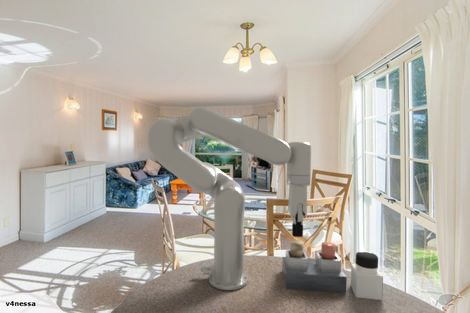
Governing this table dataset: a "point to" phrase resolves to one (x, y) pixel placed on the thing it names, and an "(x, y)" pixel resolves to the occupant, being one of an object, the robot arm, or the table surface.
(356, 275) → the medicine bottle
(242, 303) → the table surface
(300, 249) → the beige ball
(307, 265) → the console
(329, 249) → the red plunger
